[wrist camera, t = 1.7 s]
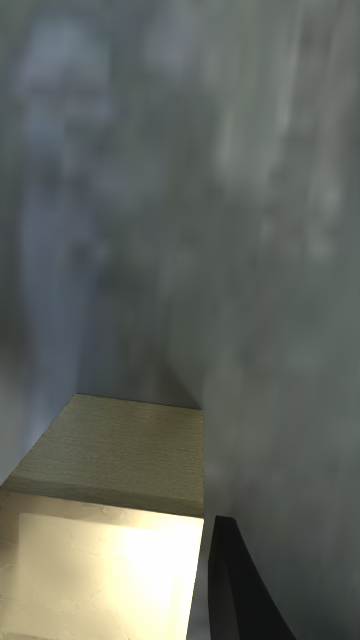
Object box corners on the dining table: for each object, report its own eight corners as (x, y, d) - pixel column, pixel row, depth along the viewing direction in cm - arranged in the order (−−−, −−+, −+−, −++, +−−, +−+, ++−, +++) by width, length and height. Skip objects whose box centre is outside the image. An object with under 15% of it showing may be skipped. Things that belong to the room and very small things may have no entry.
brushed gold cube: (202, 410, 15) (203, 519, 9) (187, 517, 16) (180, 673, 10) (75, 393, 15) (-3, 490, 9) (70, 501, 16) (-1, 645, 11)
